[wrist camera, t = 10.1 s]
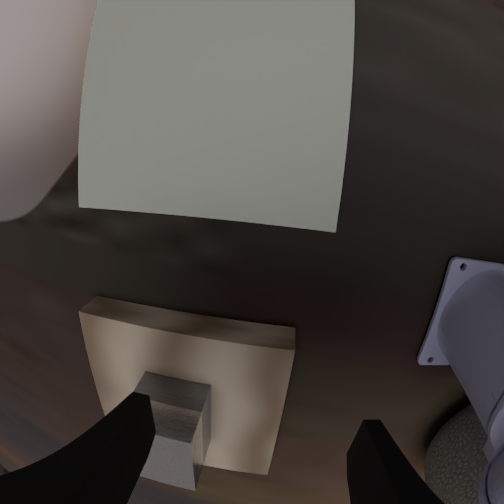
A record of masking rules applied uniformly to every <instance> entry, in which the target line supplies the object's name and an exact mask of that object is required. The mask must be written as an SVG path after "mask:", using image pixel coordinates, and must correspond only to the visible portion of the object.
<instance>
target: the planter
mask: <svg viewBox="0 0 504 504" xmlns="http://www.w3.org/2000/svg"><path fill="white" fill-rule="evenodd" d="M487 440H488V435H487V434H486V432H485V430H484V428H483V426H482V424H481V422H480V420H479V418H478V416H477V414H476V412H475V410H474V408H473V406H472V404H470V405H468V406H466V407H465V408H463V409H462V410H460V411H459V412H457V413H456V414H455V415H454V416H453V417H451V418H450V419H449V420H448V421H447V422H446V423H445V424H444V425H443V426H442V427H441V429H440V430H439V431H438V432H437V434H436V435H435V437H434V438H433V440H432V441H431V443H430V445H429V447H428V449H427V452H426V456H425V462H424V471H425V483H426V484H427V485H428V487H429V488H430V489H431V490H432V491H433V492H434V493H435V494H436V495H437V496H438V497H439V498H440V499H441V500H442V501H443V502H444V503H445V504H479V500H478V485H479V481H480V477H481V475H482V473H483V470H484V469H485V467H486V466H487V464H488V463H489V462H488V460H487V458H486V455H485V453H484V451H483V447H484V446H485V444H486V442H487Z"/></svg>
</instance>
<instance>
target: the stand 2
mask: <svg viewBox="0 0 504 504" xmlns="http://www.w3.org/2000/svg"><path fill="white" fill-rule="evenodd" d="M79 316H80V321H81V326H82V331H83V336H84V340H85V345H86V349H87V354H88V358H89V362H90V366H91V370H92V373H93V377H94V381H95V384H96V388H97V391H98V395H99V398H100V401H101V405H102V408H103V411H104V414H105V416H106V415H107V414H108V413H109V412H110V411H112V410H113V409H114V408H115V407H116V406H117V405H118V404H119V403H121V402H122V401H123V400H124V399H125V398H126V397H127V396H128V395H129V394H130V393H132V392H133V391H134V389H135V388H136V386H137V384H138V383H139V381H140V380H141V378H142V376H143V375H144V373H145V371H148V372H153V373H157V374H161V375H165V376H170V377H174V378H179V379H184V380H189V381H194V382H199V383H204V384H209V385H211V440H210V444H209V447H208V451H207V454H206V457H205V461H204V464H203V465H206V466H211V467H217V468H222V469H228V470H234V471H241V472H248V473H256V474H264V475H267V474H268V470H269V466H270V462H271V458H272V454H273V450H274V446H275V442H276V438H277V433H278V429H279V425H280V420H281V416H282V412H283V407H284V402H285V398H286V393H287V388H288V384H289V379H290V374H291V369H292V364H293V359H294V354H295V327H286V326H278V325H269V324H262V323H254V322H246V321H239V320H232V319H225V318H218V317H212V316H205V315H199V314H193V313H187V312H181V311H175V310H169V309H163V308H158V307H152V306H147V305H142V304H136V303H131V302H126V301H121V300H116V299H112V298H107V297H102V296H96V297H95V298H94V299H92V300H91V301H90V302H89V303H88V304H87V305H85V306H84V307H83V308H82V309H81V310H80V311H79Z"/></svg>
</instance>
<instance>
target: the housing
mask: <svg viewBox="0 0 504 504" xmlns="http://www.w3.org/2000/svg"><path fill="white" fill-rule="evenodd" d="M133 392H137V393H141V394H145V395H149V396H150V401H151V407H152V413H153V418H154V423H155V428H156V434H155V437H154V441H153V444H152V447H151V450H150V453H149V456H148V458H147V461H146V463H145V465H144V467H143V470H142V472H141V474H140V476H142V477H145V478H149V479H152V480H155V481H159V482H162V483H166V484H170V485H174V486H177V487H182V488H186V489H190V490H194V491H196V488H197V484H198V481H199V478H200V474H201V471H202V468H203V464H204V461H205V457H206V454H207V451H208V447H209V444H210V440H211V385H209V384H204V383H199V382H194V381H189V380H184V379H179V378H174V377H170V376H165V375H161V374H157V373H153V372H148V371H145V373H144V375H143V376H142V378H141V380H140V381H139V383H138V384H137V386H136V388H135V389H134V391H133Z"/></svg>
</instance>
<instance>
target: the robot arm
mask: <svg viewBox="0 0 504 504" xmlns="http://www.w3.org/2000/svg"><path fill="white" fill-rule="evenodd" d="M462 263H464V266H463V267H462V268H461V269H460V266H461V264H462ZM430 357H431V358H430ZM428 358H430V359H428ZM417 361H418V363H419V364H420V365H450V366H451V368H452V369H453V371H454V373H455V375H456V376H457V378H458V380H459V382H460V384H461V385H462V387H463V389H464V391H465V393H466V395H467V396H468V398H469V400H470V402H471V404H472V406H473V408H474V410H475V412H476V414H477V416H478V418H479V420H480V422H481V424H482V426H483V428H484V430H485V432H486V434H487V435H488V440H487V442H486V444H485V446H484V447H483V451H484V453H485V455H486V458H487V460H488V462H489V463H488V464H487V466H486V467H485V469H484V470H483V473H482V475H481V477H480V481H479V485H478V500H479V504H504V264H502V263H496V262H489V261H483V260H476V259H470V258H463V257H453V258H452V259H451V260H450V262H449V264H448V268H447V271H446V275H445V279H444V282H443V285H442V289H441V292H440V295H439V298H438V302H437V305H436V308H435V311H434V314H433V317H432V319H431V322H430V325H429V328H428V331H427V333H426V336H425V339H424V341H423V344H422V346H421V349H420V352H419V354H418V356H417ZM155 434H156V428H155V423H154V418H153V413H152V407H151V401H150V396H149V395H145V394H141V393H137V392H132V393H130V394H129V395H128V396H127V397H126V398H125V399H124V400H123V401H122V402H121V403H119V404H118V405H117V406H116V407H115V408H114V409H113V410H112V411H110V412H109V413H108V414H107V415H106V416H105V417H103V418H102V419H101V420H100V421H99V422H97V423H96V424H95V425H94V426H92V427H91V428H90V429H89V430H87V431H86V432H85V433H83V434H82V435H80V436H79V437H78V438H76V439H75V440H73V441H72V442H71V443H69V444H68V445H66V446H65V447H63V448H61V449H60V450H58V451H56V452H55V453H53V454H51V455H49V456H48V457H46V458H44V459H42V460H39V461H37V462H35V463H33V464H31V465H29V466H26V467H24V468H21V469H19V470H16V471H13V472H10V473H7V474H4V475H1V476H0V504H127V502H128V500H129V498H130V495H131V493H132V491H133V489H134V487H135V485H136V482H137V480H138V478H139V476H140V474H141V472H142V470H143V467H144V465H145V463H146V461H147V458H148V456H149V453H150V450H151V447H152V444H153V441H154V437H155ZM347 480H348V487H349V494H350V501H351V504H445V503H444V502H443V501H442V500H441V499H440V498H439V497H438V496H437V495H436V494H435V493H434V492H433V491H432V490H431V489H430V488H429V487H428V485H427V484H426V483H425V482H424V481H423V480H422V478H421V477H420V476H419V475H418V473H417V472H416V471H415V469H414V468H413V467H412V465H411V464H410V463H409V461H408V460H407V459H406V457H405V456H404V454H403V453H402V452H401V450H400V449H399V447H398V446H397V444H396V443H395V441H394V440H393V438H392V437H391V435H390V434H389V432H388V431H387V429H386V428H385V426H384V425H383V423H382V422H381V420H363V422H362V424H361V426H360V428H359V430H358V432H357V434H356V436H355V438H354V440H353V442H352V444H351V446H350V448H349V450H348V452H347Z"/></svg>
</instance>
